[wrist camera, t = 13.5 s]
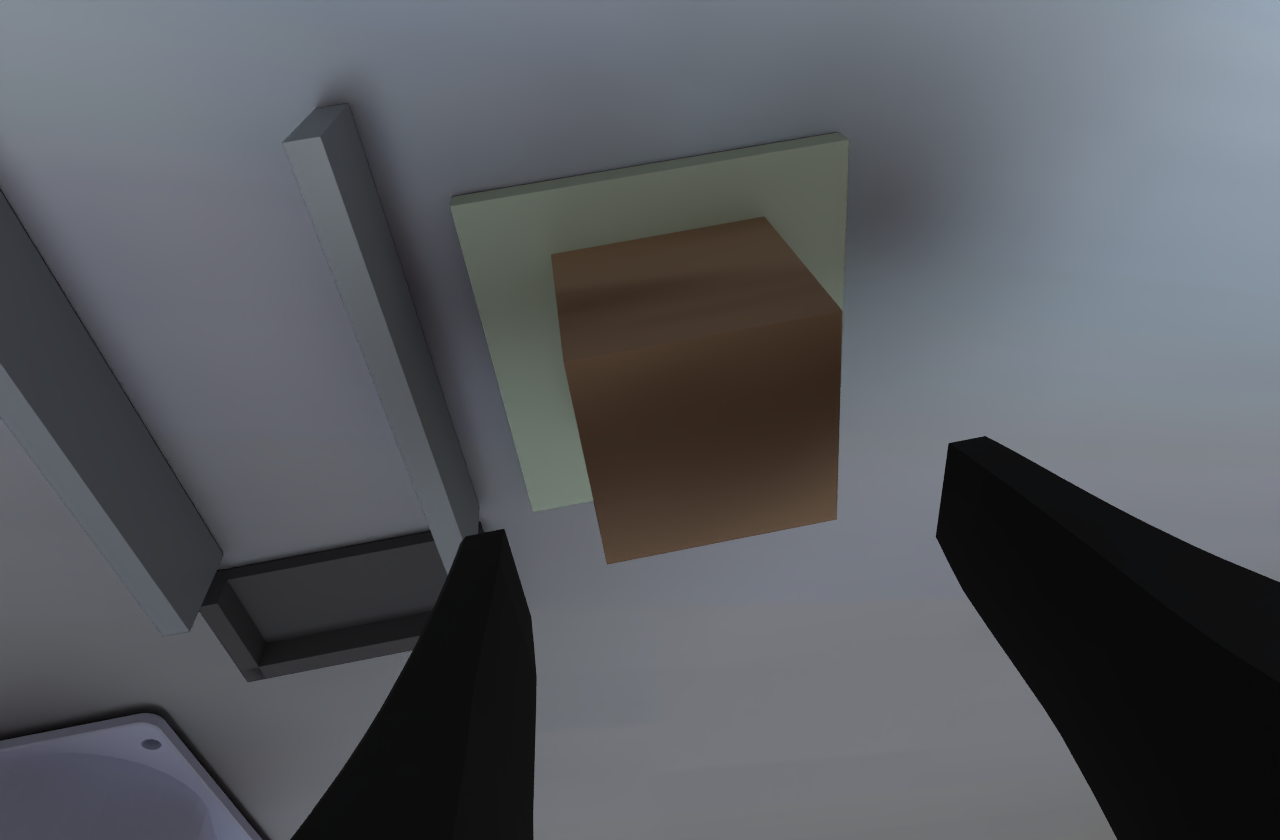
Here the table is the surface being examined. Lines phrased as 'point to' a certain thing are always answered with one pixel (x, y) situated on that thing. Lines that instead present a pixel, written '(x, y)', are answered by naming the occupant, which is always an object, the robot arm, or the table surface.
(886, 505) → the table surface
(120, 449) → the channel
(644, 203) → the coaster
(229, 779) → the table surface
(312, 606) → the tray
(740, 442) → the block
